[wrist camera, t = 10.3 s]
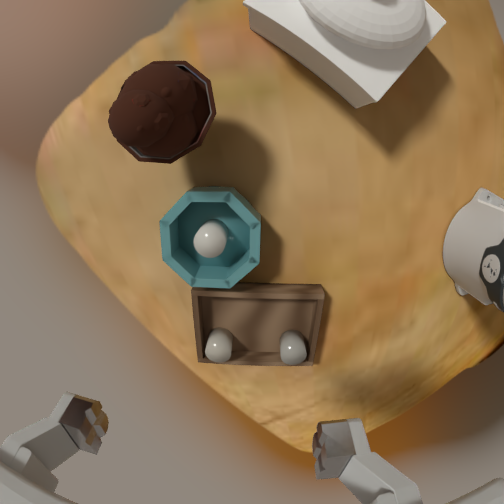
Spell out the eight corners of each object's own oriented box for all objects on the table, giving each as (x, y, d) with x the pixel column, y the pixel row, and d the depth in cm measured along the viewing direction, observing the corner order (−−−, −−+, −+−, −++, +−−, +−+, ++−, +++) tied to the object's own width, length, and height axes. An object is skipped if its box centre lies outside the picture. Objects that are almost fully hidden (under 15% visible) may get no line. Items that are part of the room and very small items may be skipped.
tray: (320, 284, 41) (324, 294, 38) (309, 353, 46) (312, 365, 43) (195, 280, 41) (191, 290, 39) (201, 350, 46) (198, 362, 43)
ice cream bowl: (221, 162, 36) (197, 172, 22) (140, 155, 35) (77, 164, 21) (233, 82, 32) (216, 43, 18) (150, 79, 32) (93, 50, 18)
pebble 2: (233, 327, 44) (230, 343, 40) (233, 347, 45) (231, 363, 41) (208, 326, 44) (204, 342, 40) (209, 345, 45) (205, 361, 41)
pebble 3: (304, 329, 43) (308, 345, 40) (302, 348, 45) (305, 364, 41) (280, 329, 43) (281, 345, 40) (278, 348, 45) (279, 364, 41)
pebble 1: (228, 219, 37) (224, 227, 34) (229, 246, 39) (225, 258, 35) (199, 218, 37) (192, 227, 34) (200, 246, 39) (194, 257, 35)
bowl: (261, 186, 37) (261, 192, 32) (258, 273, 41) (258, 289, 36) (169, 186, 37) (157, 192, 32) (174, 270, 41) (165, 285, 36)
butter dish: (418, 37, 28) (480, 5, 13) (352, 111, 33) (410, 93, 18) (324, -36, 24) (349, -97, 9) (246, 31, 29) (238, -32, 14)
